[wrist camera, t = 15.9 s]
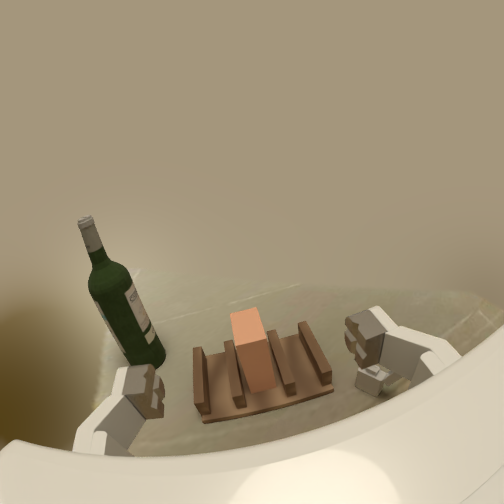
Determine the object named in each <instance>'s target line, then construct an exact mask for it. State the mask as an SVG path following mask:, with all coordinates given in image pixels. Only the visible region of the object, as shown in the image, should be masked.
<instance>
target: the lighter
mask: <svg viewBox="0 0 504 504" xmlns="http://www.w3.org/2000/svg"><path fill="white" fill-rule="evenodd" d="M400 378H402V376H400V375H399V374H397V373H395V372H393V371H391V370H390V371H389V372H388V373H387V374H386V372H384V371H381V370H380V367H378V366H376V365H373V366H370V367H368V368H365V369H363V370H361V368H360V367H359V369H358V372H357V378H356V384H355V387H357V388H359V389H361V390H363V391H365V392H367V393H369V394H371V395H373V396H375V397H377V396H378V395H379V393H380V392H381V390H382V388H383V384H384V383H385V384H386V385H387V386H390V385H391V384H393V383H394V382H396V381H397V380H399V379H400Z"/></svg>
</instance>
